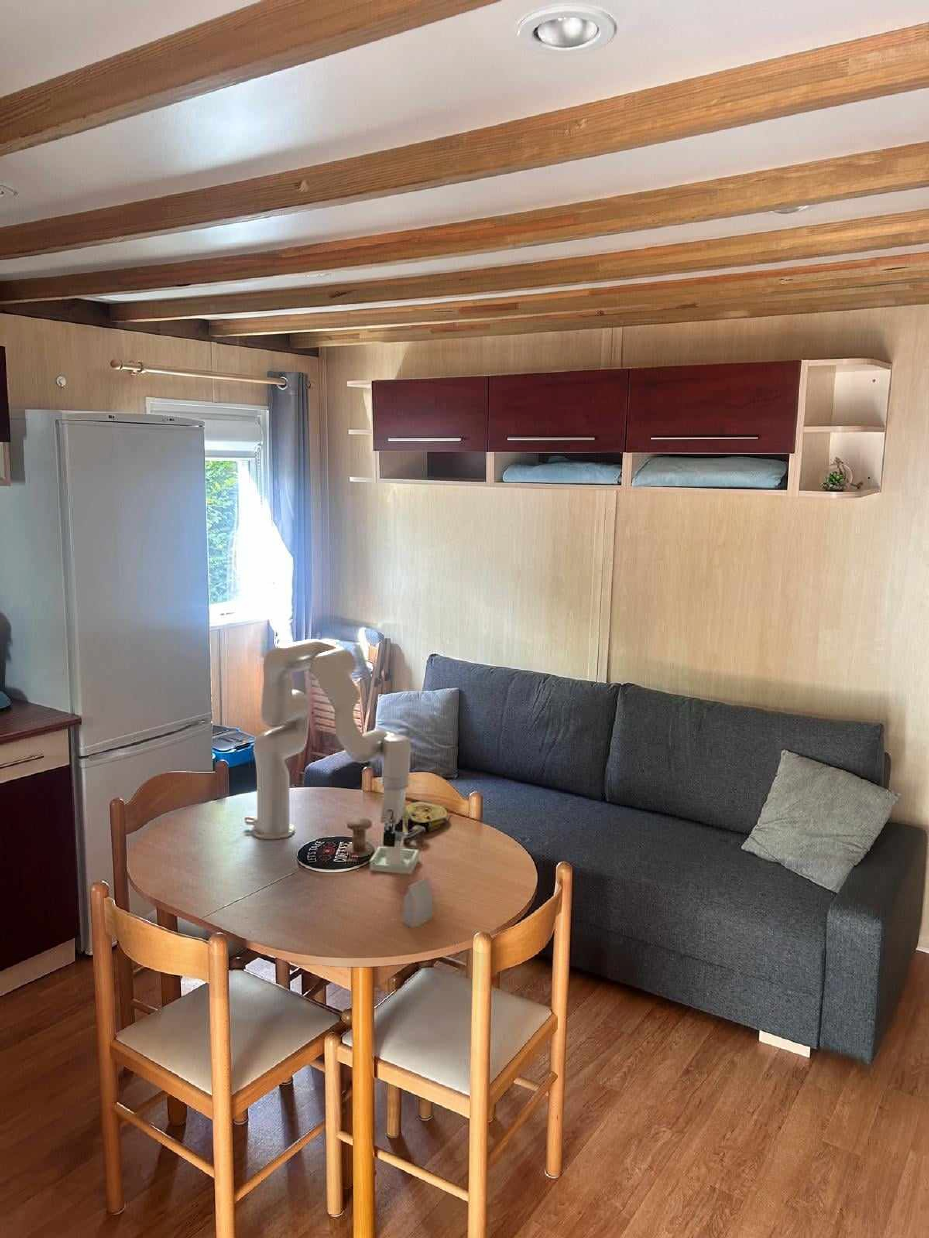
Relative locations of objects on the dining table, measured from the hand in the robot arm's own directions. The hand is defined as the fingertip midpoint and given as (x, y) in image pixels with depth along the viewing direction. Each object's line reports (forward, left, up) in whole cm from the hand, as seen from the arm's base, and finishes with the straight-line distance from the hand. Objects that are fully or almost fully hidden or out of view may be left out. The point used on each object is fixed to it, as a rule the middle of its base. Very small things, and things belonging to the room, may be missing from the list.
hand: (393, 839), depth 262 cm
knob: (-11, +6, -8) cm, 15 cm away
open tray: (+1, 0, -8) cm, 8 cm away
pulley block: (+2, +28, -8) cm, 29 cm away
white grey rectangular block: (+1, 0, -7) cm, 7 cm away
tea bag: (+14, -31, -8) cm, 34 cm away
